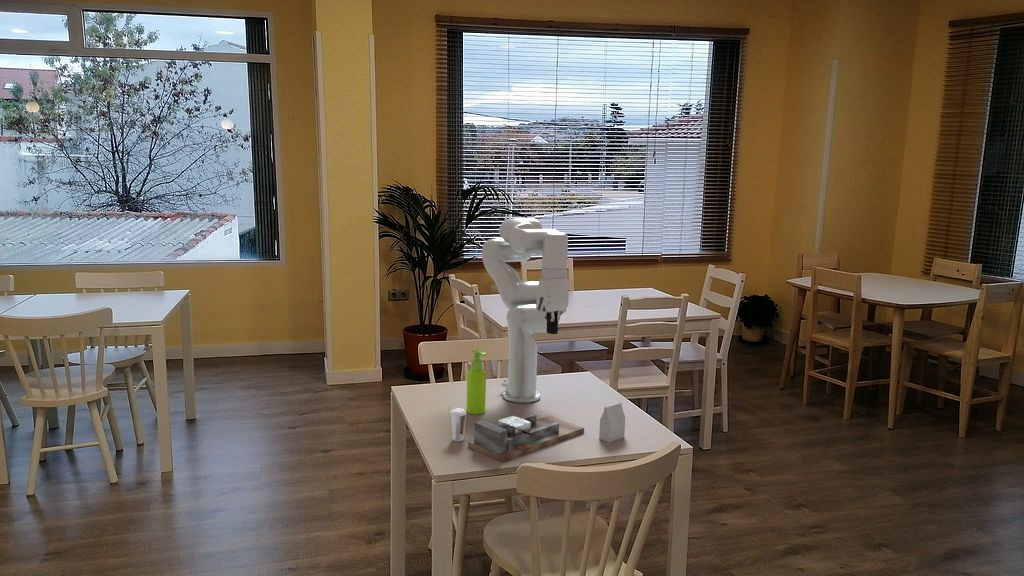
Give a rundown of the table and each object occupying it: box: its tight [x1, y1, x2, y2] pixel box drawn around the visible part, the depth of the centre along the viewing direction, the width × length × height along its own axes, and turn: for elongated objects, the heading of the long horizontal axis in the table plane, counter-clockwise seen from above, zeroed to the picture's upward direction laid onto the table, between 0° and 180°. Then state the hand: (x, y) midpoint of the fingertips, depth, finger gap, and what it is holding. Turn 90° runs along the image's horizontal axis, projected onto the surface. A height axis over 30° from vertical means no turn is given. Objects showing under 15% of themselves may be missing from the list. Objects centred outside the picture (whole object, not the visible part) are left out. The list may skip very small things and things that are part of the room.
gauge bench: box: [467, 413, 585, 463], centre depth 210 cm, size 33×14×8 cm, turn 134°
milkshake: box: [447, 406, 468, 443], centre depth 208 cm, size 4×5×10 cm
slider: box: [497, 415, 532, 439], centre depth 204 cm, size 9×10×5 cm
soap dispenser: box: [466, 348, 488, 415], centre depth 231 cm, size 6×7×20 cm
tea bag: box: [598, 402, 626, 444], centre depth 213 cm, size 4×7×10 cm, turn 131°
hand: (552, 333), depth 224 cm, fingers closed
